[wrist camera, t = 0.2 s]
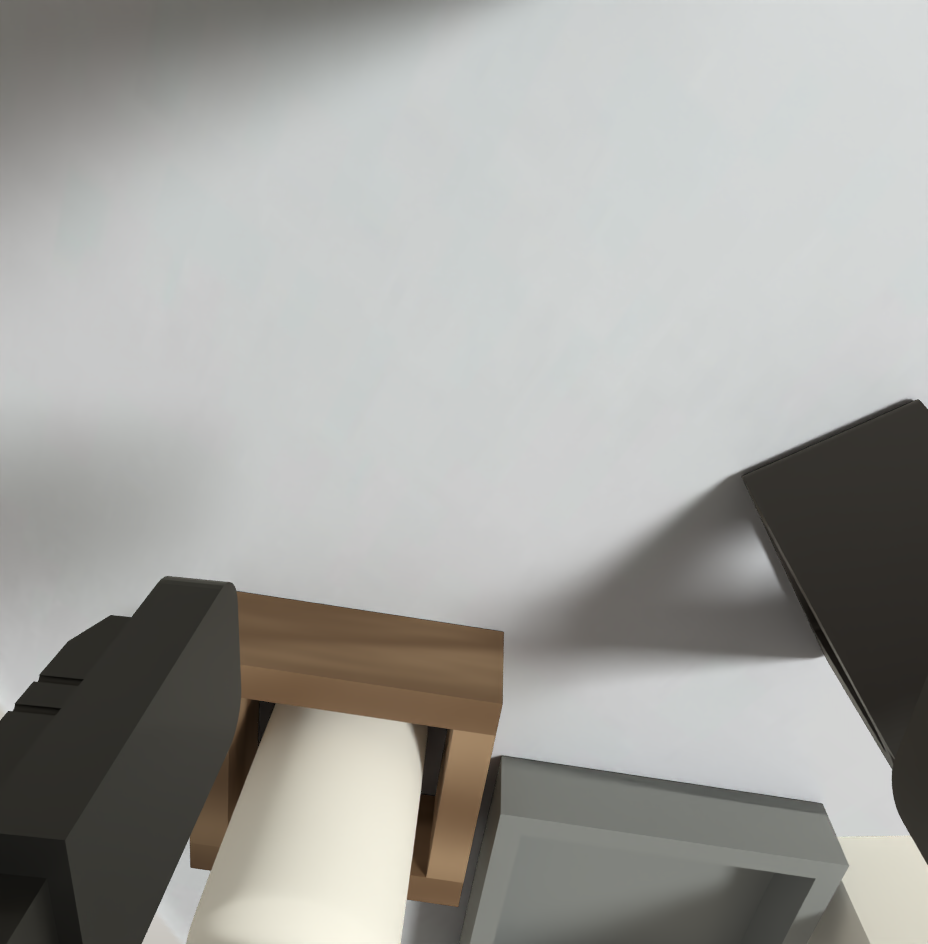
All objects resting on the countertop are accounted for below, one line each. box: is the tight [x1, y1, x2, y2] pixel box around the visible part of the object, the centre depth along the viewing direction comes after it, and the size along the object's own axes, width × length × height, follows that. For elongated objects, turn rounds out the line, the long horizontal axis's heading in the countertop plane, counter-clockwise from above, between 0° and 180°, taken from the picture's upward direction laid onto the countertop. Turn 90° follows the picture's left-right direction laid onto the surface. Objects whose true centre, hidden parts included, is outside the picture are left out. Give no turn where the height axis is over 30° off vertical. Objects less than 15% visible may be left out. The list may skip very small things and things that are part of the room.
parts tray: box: [459, 756, 849, 944], centre depth 35 cm, size 14×14×3 cm
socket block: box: [190, 591, 504, 907], centre depth 31 cm, size 11×11×4 cm
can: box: [186, 703, 428, 944], centre depth 28 cm, size 6×6×12 cm
